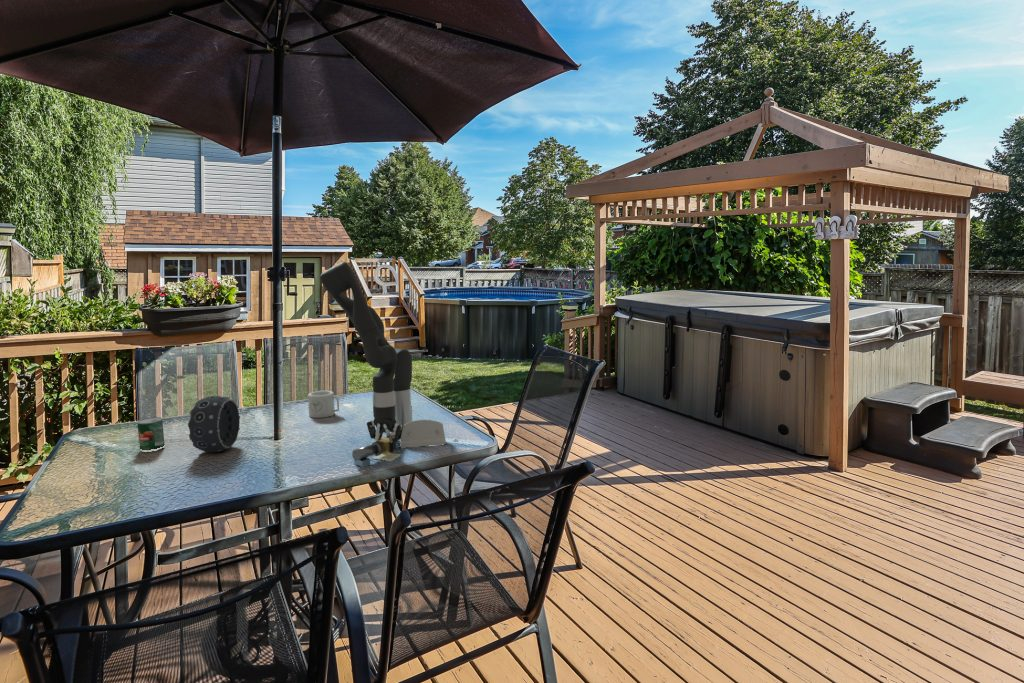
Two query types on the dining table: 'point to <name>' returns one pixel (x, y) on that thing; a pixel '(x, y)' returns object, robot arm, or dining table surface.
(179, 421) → the dining table surface
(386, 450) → the block
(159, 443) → the canned tomato
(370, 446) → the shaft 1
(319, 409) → the mug
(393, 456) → the plate
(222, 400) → the dark grey drum piece
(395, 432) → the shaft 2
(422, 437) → the grey rounded block
